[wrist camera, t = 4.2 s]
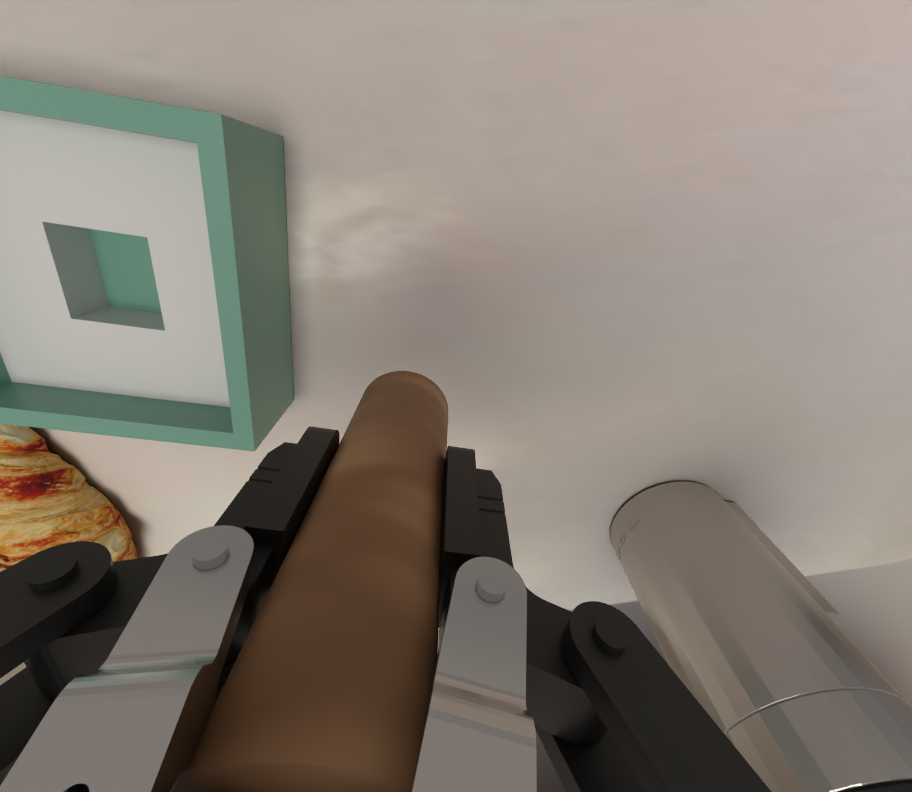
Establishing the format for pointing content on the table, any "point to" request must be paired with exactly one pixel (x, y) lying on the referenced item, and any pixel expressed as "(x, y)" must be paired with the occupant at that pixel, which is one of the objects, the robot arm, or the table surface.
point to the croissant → (51, 503)
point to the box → (141, 269)
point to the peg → (344, 619)
